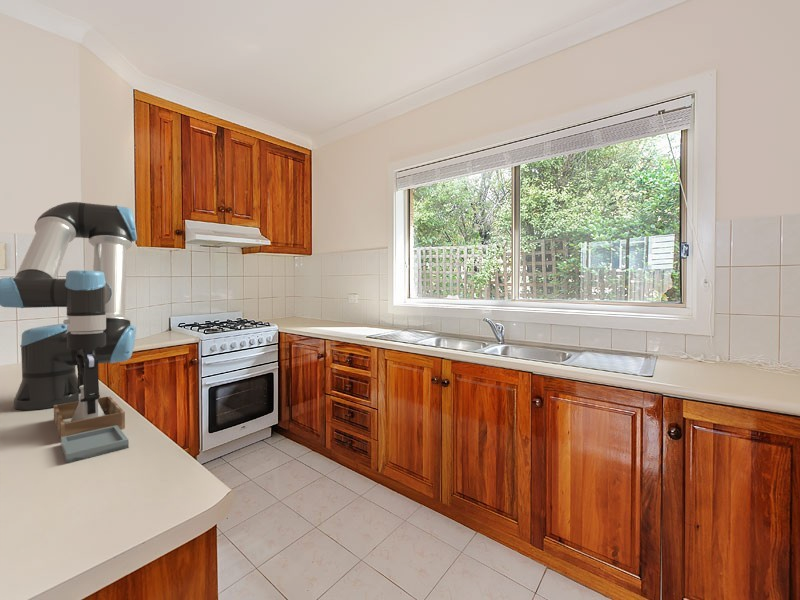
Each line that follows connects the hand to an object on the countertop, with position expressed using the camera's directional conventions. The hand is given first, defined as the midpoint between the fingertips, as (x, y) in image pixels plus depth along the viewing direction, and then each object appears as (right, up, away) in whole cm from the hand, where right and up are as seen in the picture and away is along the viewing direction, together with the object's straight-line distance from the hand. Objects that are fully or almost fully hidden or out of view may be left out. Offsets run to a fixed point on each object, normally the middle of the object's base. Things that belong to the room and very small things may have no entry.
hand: (88, 421), depth 93 cm
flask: (0, -1, 0) cm, 1 cm away
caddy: (0, -1, 0) cm, 1 cm away
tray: (+12, -1, -13) cm, 18 cm away
